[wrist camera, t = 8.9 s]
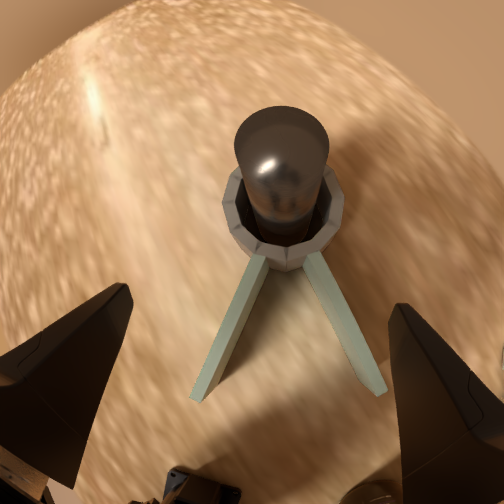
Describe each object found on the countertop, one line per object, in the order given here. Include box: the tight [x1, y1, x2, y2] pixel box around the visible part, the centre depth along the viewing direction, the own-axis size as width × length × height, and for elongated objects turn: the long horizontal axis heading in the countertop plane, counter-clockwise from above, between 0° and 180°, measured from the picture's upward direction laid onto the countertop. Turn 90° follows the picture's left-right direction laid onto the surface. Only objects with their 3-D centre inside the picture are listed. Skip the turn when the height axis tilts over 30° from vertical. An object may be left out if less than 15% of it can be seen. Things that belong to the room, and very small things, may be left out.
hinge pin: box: [234, 106, 329, 248], centre depth 18 cm, size 4×4×12 cm
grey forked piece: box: [189, 165, 388, 403], centre depth 20 cm, size 18×13×5 cm
